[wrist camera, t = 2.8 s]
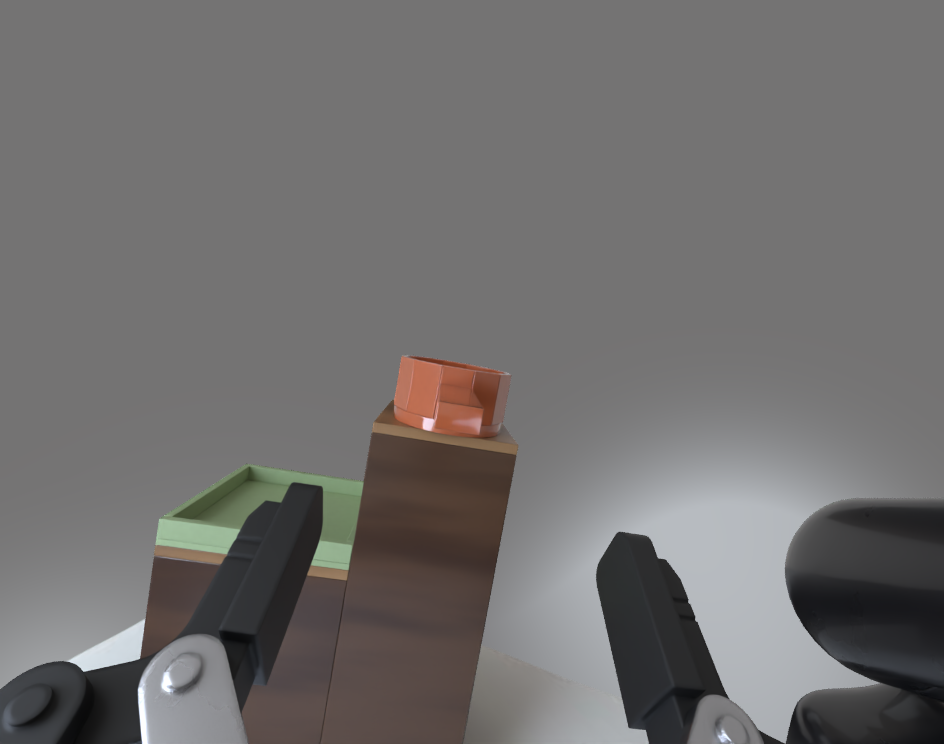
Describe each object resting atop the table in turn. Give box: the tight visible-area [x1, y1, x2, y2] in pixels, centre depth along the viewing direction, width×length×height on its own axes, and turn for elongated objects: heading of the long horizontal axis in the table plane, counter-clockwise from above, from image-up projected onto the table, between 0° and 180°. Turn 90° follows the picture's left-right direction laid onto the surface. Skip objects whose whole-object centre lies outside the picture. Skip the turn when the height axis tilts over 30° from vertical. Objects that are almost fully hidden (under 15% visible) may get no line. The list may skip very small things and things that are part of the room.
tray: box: [156, 464, 364, 570], centre depth 39 cm, size 14×14×2 cm
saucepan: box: [393, 355, 511, 438], centre depth 31 cm, size 18×9×5 cm, turn 4°
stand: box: [140, 400, 518, 744], centre depth 39 cm, size 14×25×31 cm, turn 94°
